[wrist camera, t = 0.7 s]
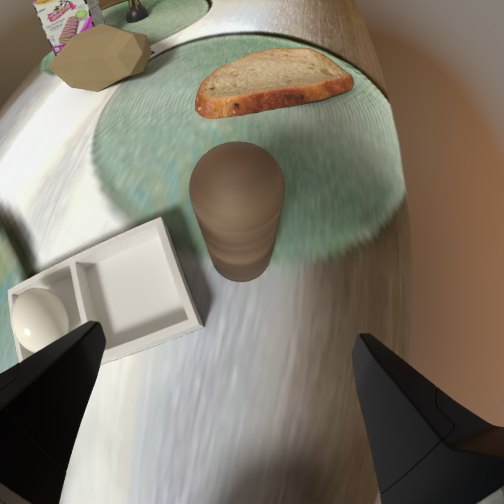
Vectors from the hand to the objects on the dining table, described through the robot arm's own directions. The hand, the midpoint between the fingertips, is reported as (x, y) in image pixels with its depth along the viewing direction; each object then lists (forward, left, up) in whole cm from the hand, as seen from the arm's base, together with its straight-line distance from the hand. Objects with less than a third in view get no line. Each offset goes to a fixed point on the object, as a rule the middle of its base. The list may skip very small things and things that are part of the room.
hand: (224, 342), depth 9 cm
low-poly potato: (+39, +4, -14) cm, 42 cm away
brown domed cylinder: (+7, -3, -13) cm, 16 cm away
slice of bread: (+26, -16, -14) cm, 34 cm away
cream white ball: (+7, +15, -13) cm, 21 cm away
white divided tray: (+7, +11, -13) cm, 19 cm away
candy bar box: (+60, +10, -14) cm, 62 cm away
